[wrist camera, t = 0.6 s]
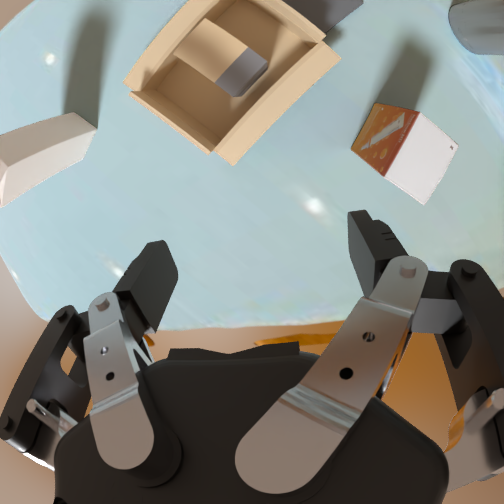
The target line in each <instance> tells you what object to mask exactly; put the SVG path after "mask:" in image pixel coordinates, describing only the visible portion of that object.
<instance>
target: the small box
mask: <svg viewBox="0 0 504 504" xmlns="http://www.w3.org/2000/svg"><path fill="white" fill-rule="evenodd" d="M458 147H459V145H458V144H457V143H456V142H454V141H453V140H452V139H451V138H450V137H449V136H448V135H447V134H446V133H444V132H443V131H442V130H441V129H440V128H439V127H437V126H436V125H435V124H434V123H433V122H432V121H430V120H429V119H428V118H427V117H426V116H424V115H423V114H422V113H421V112H418V111H414V110H409V109H405V108H401V107H396V106H391V105H385V104H380V103H375V104H374V106H373V108H372V110H371V112H370V114H369V116H368V118H367V120H366V122H365V124H364V126H363V128H362V130H361V131H360V133H359V135H358V137H357V139H356V140H355V142H354V144H353V146H352V147H351V151H353V152H354V153H355V154H356V155H358V156H359V157H360V158H361V159H362V160H364V161H365V162H366V163H367V164H369V165H370V166H371V167H372V168H373V169H374V170H376V171H377V172H378V173H379V174H380V175H381V176H383V177H384V178H385V179H387V180H388V181H390V182H391V183H393V184H394V185H396V186H397V187H399V188H400V189H401V190H403V191H404V192H406V193H407V194H409V195H410V196H411V197H413V198H414V199H416V200H417V201H418V202H420V203H421V204H422V205H425V204H426V202H427V201H428V199H429V198H430V196H431V195H432V193H433V192H434V190H435V188H436V187H437V185H438V183H439V182H440V181H441V179H442V178H443V176H444V174H445V172H446V170H447V168H448V166H449V164H450V162H451V160H452V158H453V156H454V154H455V152H456V151H457V149H458Z"/></svg>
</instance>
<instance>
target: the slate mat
mask: <svg viewBox="0 0 504 504" xmlns="http://www.w3.org/2000/svg"><path fill="white" fill-rule="evenodd" d="M282 1H283V2H285V3H286V4H287V5H289V6H290V7H292V8H293V9H294V10H296V11H297V12H298V13H300V14H301V15H302V16H304V17H305V18H306V19H307V20H309V21H310V22H311V23H312V24H314V25H315V26H316V27H317V28H318V29H320V30H321V31H322V32H323V33H324V34H325V33H326V32H327V31H329V30H330V29H331V28H332V27H333V26H335V25H336V24H337V23H338V22H340V21H341V20H342V19H344V18H345V17H346V16H347V15H349V14H350V13H351V12H353V11H354V10H355V9H357V8H358V7H359V6H361V5H362V4H363V2H362V1H361V0H282Z"/></svg>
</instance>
